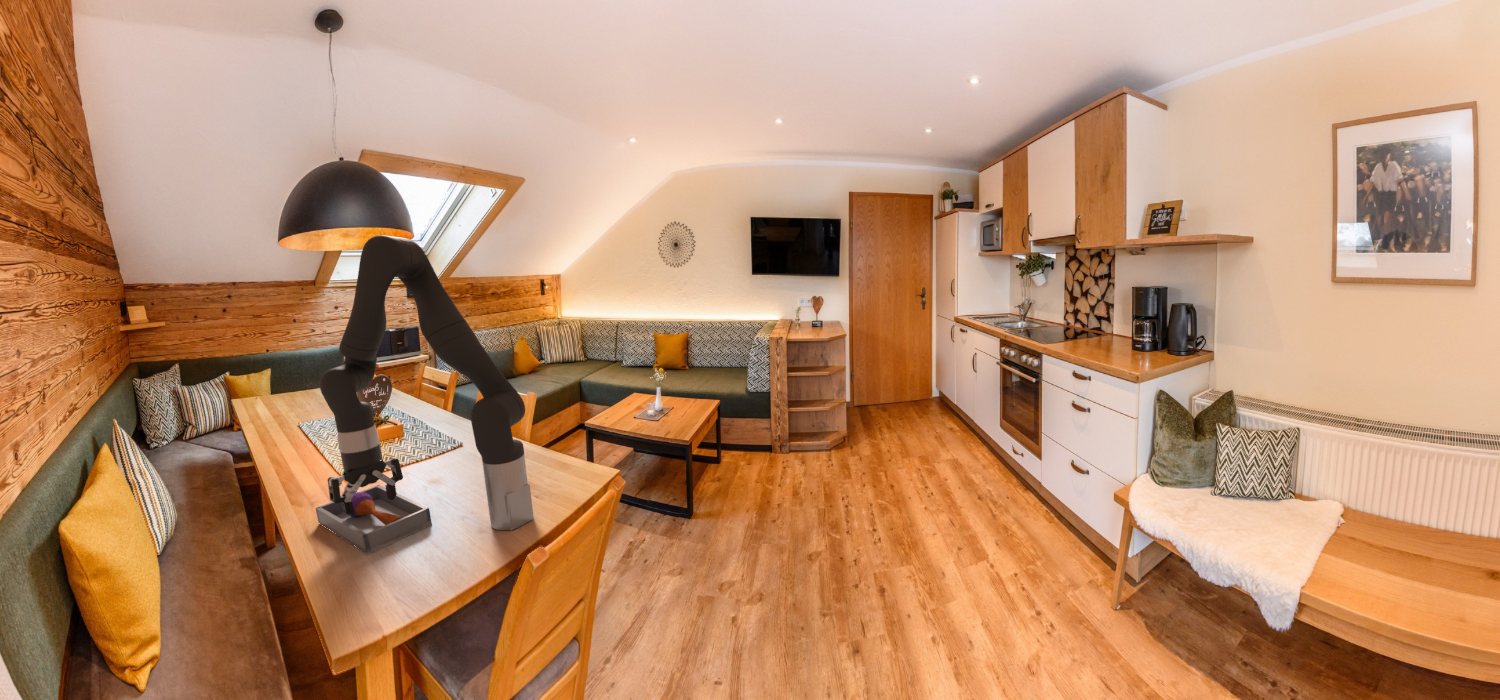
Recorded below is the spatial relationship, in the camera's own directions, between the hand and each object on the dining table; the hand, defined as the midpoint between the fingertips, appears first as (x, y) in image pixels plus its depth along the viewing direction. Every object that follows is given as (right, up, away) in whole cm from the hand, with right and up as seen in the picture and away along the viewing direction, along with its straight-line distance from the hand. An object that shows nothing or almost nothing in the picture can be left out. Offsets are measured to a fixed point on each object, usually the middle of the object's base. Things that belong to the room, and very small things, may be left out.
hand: (371, 506), depth 117 cm
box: (0, -5, +1) cm, 5 cm away
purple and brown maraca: (0, -4, +1) cm, 4 cm away
